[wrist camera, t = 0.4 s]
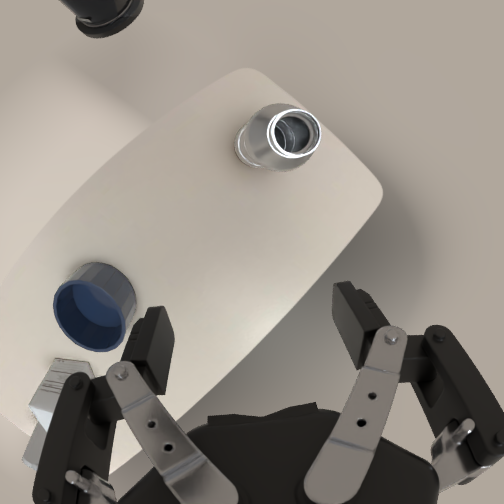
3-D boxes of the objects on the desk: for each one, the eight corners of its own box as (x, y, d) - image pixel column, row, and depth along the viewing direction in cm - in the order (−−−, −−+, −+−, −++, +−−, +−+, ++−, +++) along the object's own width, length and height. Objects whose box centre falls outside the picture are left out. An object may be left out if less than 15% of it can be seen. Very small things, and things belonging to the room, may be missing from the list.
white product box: (102, 392, 49) (84, 445, 35) (69, 387, 48) (47, 435, 33) (89, 361, 46) (64, 415, 32) (54, 356, 45) (26, 405, 31)
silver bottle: (226, 131, 36) (236, 104, 17) (272, 116, 36) (324, 82, 17) (242, 173, 38) (266, 189, 20) (287, 158, 38) (350, 162, 20)
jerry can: (87, 441, 55) (70, 510, 31) (83, 445, 56) (66, 511, 32) (42, 412, 50) (14, 479, 27) (39, 418, 51) (13, 481, 27)
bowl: (69, 256, 39) (48, 273, 32) (137, 268, 41) (124, 288, 34) (74, 320, 42) (59, 342, 36) (136, 333, 45) (127, 359, 38)
